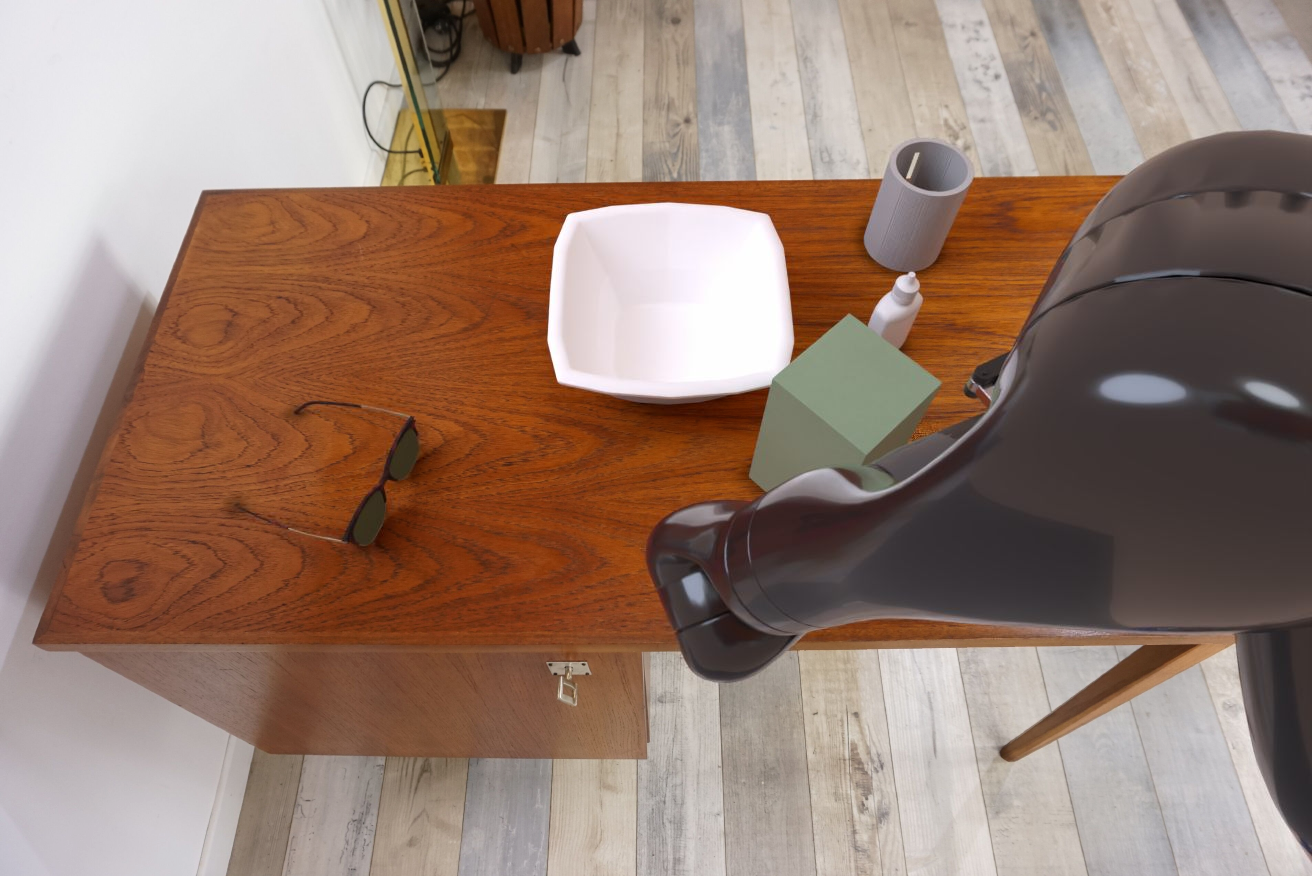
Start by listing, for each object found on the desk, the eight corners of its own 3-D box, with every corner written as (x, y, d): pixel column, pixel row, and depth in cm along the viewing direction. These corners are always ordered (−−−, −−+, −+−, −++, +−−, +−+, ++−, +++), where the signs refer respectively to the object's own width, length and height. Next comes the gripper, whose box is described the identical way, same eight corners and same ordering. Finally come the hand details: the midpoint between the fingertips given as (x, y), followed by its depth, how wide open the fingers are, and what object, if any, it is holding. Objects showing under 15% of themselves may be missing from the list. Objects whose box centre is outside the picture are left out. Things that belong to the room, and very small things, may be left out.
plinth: (886, 480, 83) (942, 382, 67) (822, 542, 79) (866, 455, 64) (812, 419, 86) (849, 312, 71) (748, 476, 83) (772, 378, 67)
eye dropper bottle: (910, 359, 90) (945, 289, 80) (861, 364, 90) (890, 293, 79) (900, 328, 92) (933, 255, 82) (852, 332, 92) (879, 260, 82)
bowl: (553, 449, 84) (542, 395, 75) (564, 265, 96) (556, 200, 88) (785, 448, 84) (802, 395, 75) (767, 265, 97) (779, 201, 88)
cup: (898, 283, 96) (930, 208, 85) (848, 235, 99) (872, 157, 89) (954, 251, 98) (991, 175, 88) (903, 206, 102) (933, 127, 92)
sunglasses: (363, 562, 78) (342, 541, 73) (233, 524, 81) (206, 501, 76) (428, 439, 84) (413, 413, 80) (306, 407, 88) (285, 381, 83)
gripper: (1045, 565, 45) (1267, 462, 48) (906, 371, 52) (1110, 293, 55) (995, 607, 52) (1194, 515, 55) (878, 431, 58) (1061, 358, 61)
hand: (1152, 404), depth 55 cm, fingers open, 8 cm apart
